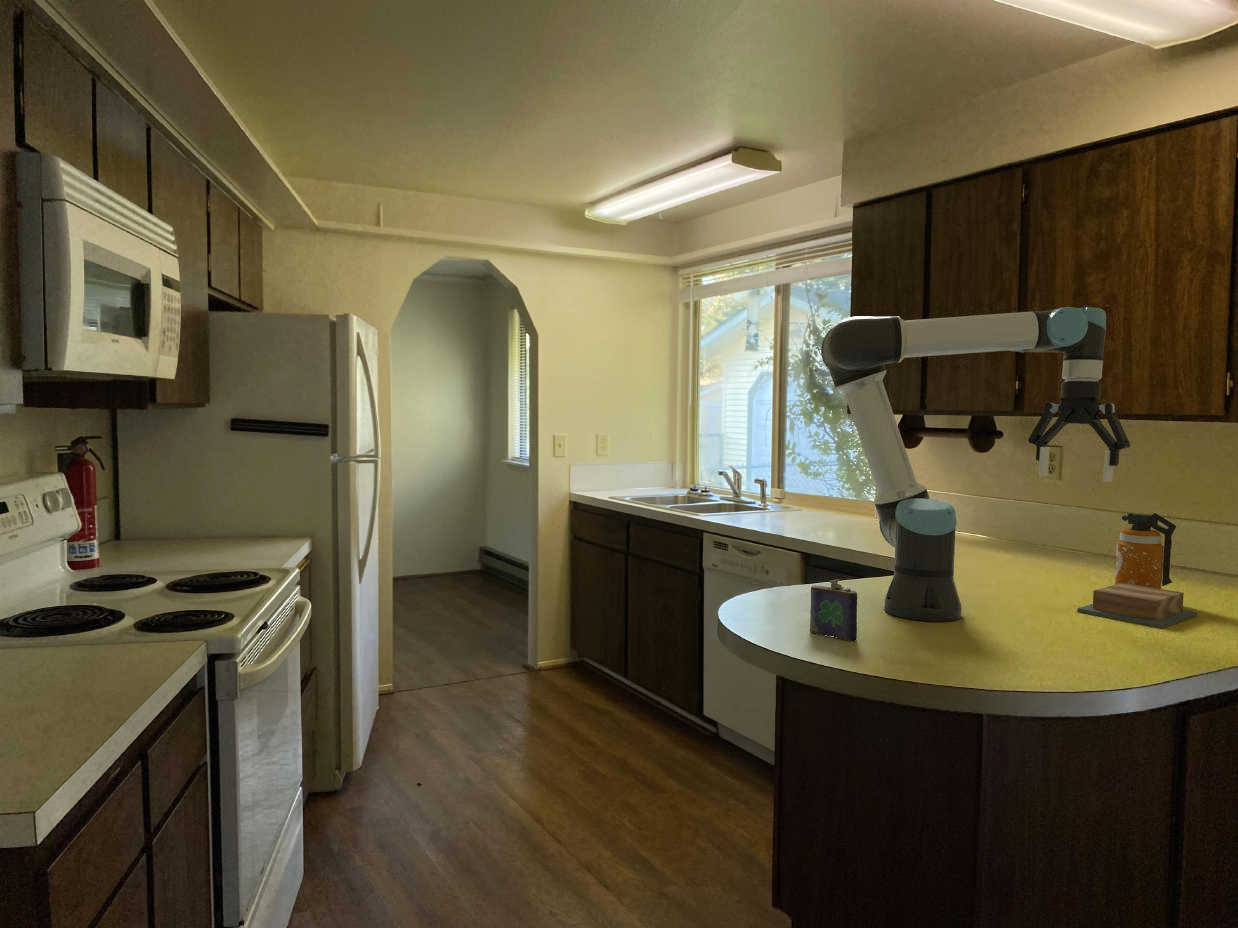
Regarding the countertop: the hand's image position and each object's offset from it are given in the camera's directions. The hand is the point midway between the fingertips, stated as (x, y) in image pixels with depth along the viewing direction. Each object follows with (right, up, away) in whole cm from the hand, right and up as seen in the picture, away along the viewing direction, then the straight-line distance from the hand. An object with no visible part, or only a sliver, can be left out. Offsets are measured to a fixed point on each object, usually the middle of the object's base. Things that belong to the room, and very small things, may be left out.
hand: (1074, 478), depth 176 cm
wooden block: (+10, -28, -5) cm, 30 cm away
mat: (+10, -29, -5) cm, 31 cm away
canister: (+20, -28, +8) cm, 35 cm away
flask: (-59, -29, -25) cm, 71 cm away
